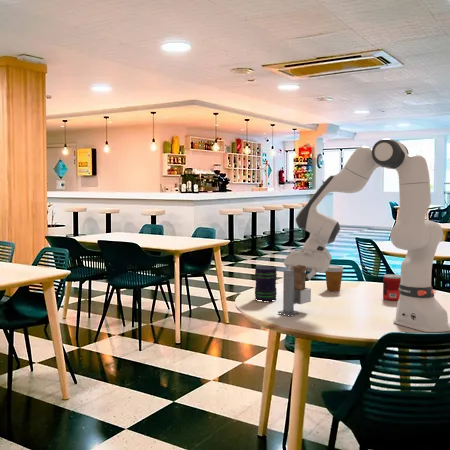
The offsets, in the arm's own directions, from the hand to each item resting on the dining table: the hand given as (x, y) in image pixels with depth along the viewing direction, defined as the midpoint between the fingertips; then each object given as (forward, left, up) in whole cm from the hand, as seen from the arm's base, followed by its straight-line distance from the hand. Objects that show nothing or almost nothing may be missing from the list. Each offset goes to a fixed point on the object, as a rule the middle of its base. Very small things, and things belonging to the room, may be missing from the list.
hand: (298, 277), depth 214 cm
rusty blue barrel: (+24, +3, -15) cm, 29 cm away
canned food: (+5, -52, -15) cm, 54 cm away
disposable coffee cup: (+32, -38, -15) cm, 52 cm away
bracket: (-1, +2, -14) cm, 15 cm away
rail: (0, -1, -9) cm, 9 cm away
